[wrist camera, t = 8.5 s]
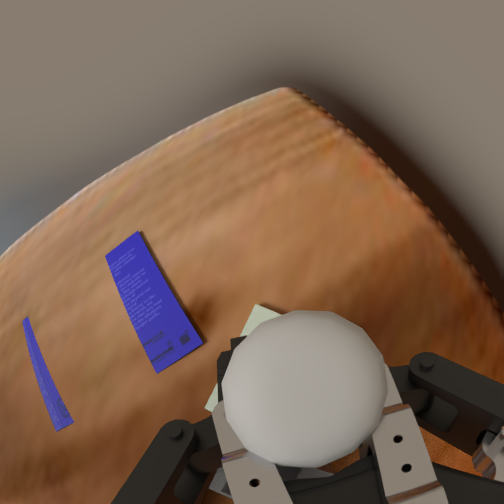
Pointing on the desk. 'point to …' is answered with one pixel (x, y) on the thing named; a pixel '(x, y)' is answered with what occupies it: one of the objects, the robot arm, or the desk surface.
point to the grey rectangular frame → (286, 474)
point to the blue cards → (141, 315)
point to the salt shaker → (305, 388)
